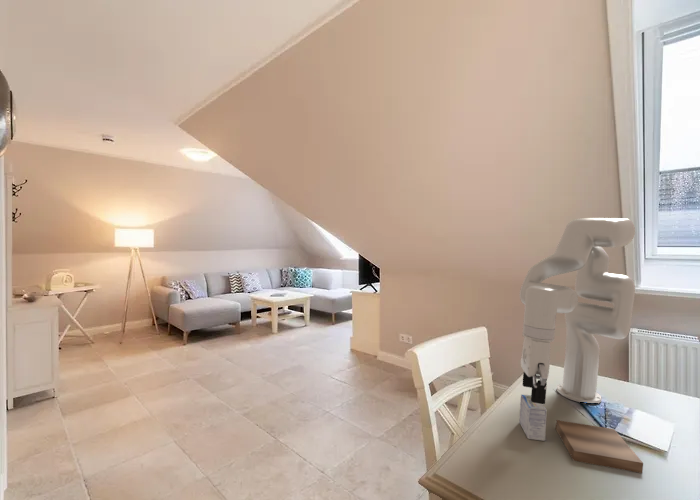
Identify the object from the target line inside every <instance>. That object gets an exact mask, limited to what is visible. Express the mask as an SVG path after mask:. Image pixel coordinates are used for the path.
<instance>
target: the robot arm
mask: <svg viewBox="0 0 700 500" xmlns="http://www.w3.org/2000/svg"><path fill="white" fill-rule="evenodd" d="M635 234H636V228H635V224H634V222H633V221H632V220H631V219H629V218H624V217H623V218H620V217H619V218H618V217H611V218H610V217H609V218H608V217H605V218H604V217H585V218H583V217H582V218H577V219H573V220H571V221H569V222H568V224H567V225H566V227H565V228H564V231H563V233H562V234H561V237H560V240H559V242H558V243H557V246H556V248H555V251H554V253H552V254H551V255H549V256H547V257H545V258H543V259H542V260H540V261H539V262H537V263H536V264H534V265H533V266H532V267H531V268H530V269H529V270H528V272H527V273H526V275H525V277H524V279H523V282H522V284H521V287H520V290H519V300H520V302H521V303H522V304H523V305H524V313H523V323H522V337H523V342H522V349H521V358H520V366H521V368H522V370H523V374H522V386H523V387H526V388H529V389H530V388H531V393H530V395H531V401H532V402H533V403H539V404H543V405H546V396H547V383H548V382H547V381H548V378H549V376H550V375H549V373H550V365H551V363H550V362H551V342H552V343H553V342H554V341H555V333H556V322H557V321H556V319H557V314H564V320H565V322H564V323H565V328H566V329H565V330H566V332H565V334H566V337H565V353H564V364H563V366H564V367H563V377H562V383H560V384H558V385H557V386H556V390H557V393H559V394H560V396H562V397H564V398H566V399H569V400H571V401H573V402H574V401H575V402H577V403H580V402H587V403H598V404H600V403H602V396H601V394H599V393H598V392H597V388H598V387H597V386H598V378H599V377H598V375H599V364H600V352H601V349H600V347H601V346H600V344H599V341H598V340H597V338H596V337H595V336H596V335H597V336H601V337H605V338H610V339H613V340H615V339H616V340H624V339H626V338H627V336H628V335H629V333H630V330H631V324H632V319H633V318H632V317H633V316H632V315H633V310H634V301H635V294H636V287H635V282H634V280H633V279H632V278H631V277H630V276H628V275H625V274H619V273H609V266H610V261H611V259H610V257H609V254H608V253H607V252H606V250H605V249H604V248H622V247H625V246H628V245H629V244H630V243H631V242H632V241H633V239H634V238H635ZM575 271H576V275H575V276H576V277H575V281H574V282H575V284H574V289H573V288H572V287H569V286H565V285H559V284H552V283H545V282H544V281H545V280H547V279H549V278H551V277H554V276H557V275H558V276H560V275H563V274H567V273H571V272H575ZM579 298H582V299H585V300H590V301H595V302H603V303H608V304H612V306H613V307H611V306H605V305H599V304H593V303H588V302H579ZM594 335H595V336H594Z"/></svg>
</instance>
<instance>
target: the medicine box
mask: <svg viewBox="0 0 700 500" xmlns="http://www.w3.org/2000/svg"><path fill="white" fill-rule="evenodd" d="M519 405H520V407H519V419H518V420H519V422H518V423H519V425H520V426H521V428H522V430H523V432H524V434H525V436H526V438H527V439H529V440H533V441H534V440H535V441H542V442H545V441H546V432H547V431H546V430H547V412H548V410H547V408H546V407H545V406H544V404H539V403H533V402H532V401H531V394H520V403H519Z"/></svg>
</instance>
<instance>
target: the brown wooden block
mask: <svg viewBox="0 0 700 500" xmlns="http://www.w3.org/2000/svg"><path fill="white" fill-rule="evenodd" d="M555 430H556V432H557V434H558V435H559V436H558V437H560V439H561V441H562V442H563V444H564V446H565V448H566V450H567V451H568V454H569V455H570V457H571V459H572V460H573V462H579V463H584V464H585V463H586V464H591V465H596V466H601V467H606V468H612V469H617V470H622V471H627V472H631V473H638V474H643V470H644V469H643V468H644V462H643V461H642V460H641V458H639V456H638V455H637V454H636V453H635V452H634V450H633V449H632V448H631V447H630V446H629V444H628V443H627V442H626V441H625V440H624V439H623V438H622V436H621V435H620V434H619V433H618V432H617V431H616V429H615V428H609V427H603V426H597V425H590V424H585V423H584V424H583V423H577V422H572V421H565V420H558V419H555Z"/></svg>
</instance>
